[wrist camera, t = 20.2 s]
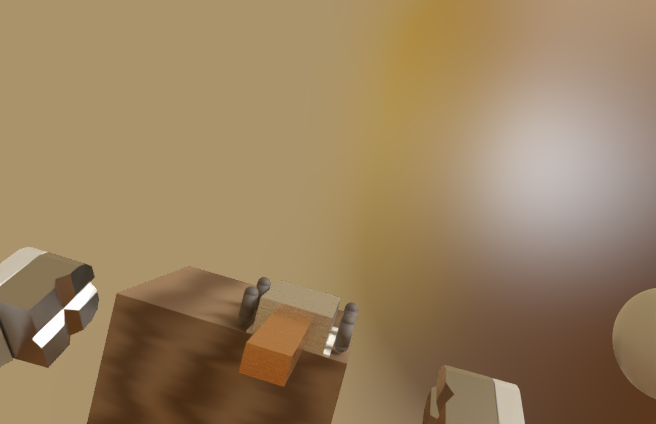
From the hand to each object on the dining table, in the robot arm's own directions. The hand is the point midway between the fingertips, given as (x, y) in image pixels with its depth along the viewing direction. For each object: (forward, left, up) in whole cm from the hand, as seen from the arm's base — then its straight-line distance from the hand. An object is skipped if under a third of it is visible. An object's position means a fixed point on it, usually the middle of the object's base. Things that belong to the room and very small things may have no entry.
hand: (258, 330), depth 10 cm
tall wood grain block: (+7, -32, -36) cm, 49 cm away
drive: (+2, -25, -10) cm, 27 cm away
